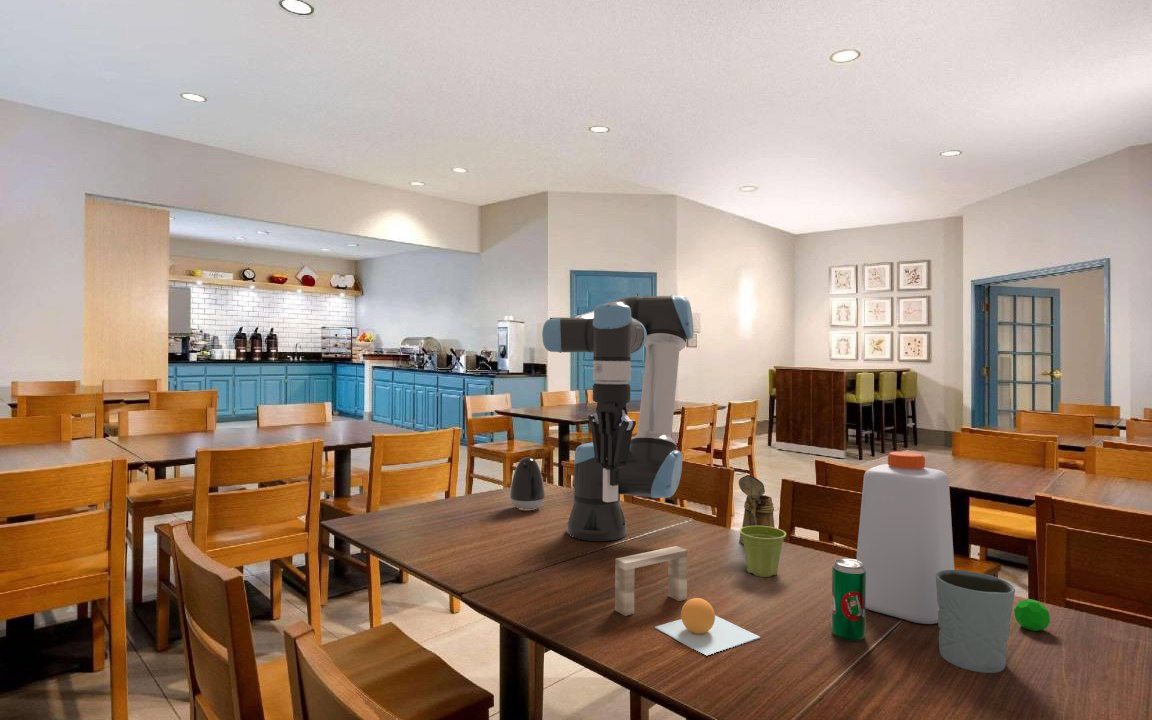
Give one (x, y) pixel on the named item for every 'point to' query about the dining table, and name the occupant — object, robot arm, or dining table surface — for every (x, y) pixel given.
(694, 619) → the ball
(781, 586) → the dining table surface
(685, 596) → the bridge
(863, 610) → the soda can
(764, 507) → the wooden mug
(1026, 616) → the polyhedron
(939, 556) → the plastic bottle
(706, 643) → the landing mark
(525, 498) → the black rounded dome
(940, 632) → the grey cup
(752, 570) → the plant pot
